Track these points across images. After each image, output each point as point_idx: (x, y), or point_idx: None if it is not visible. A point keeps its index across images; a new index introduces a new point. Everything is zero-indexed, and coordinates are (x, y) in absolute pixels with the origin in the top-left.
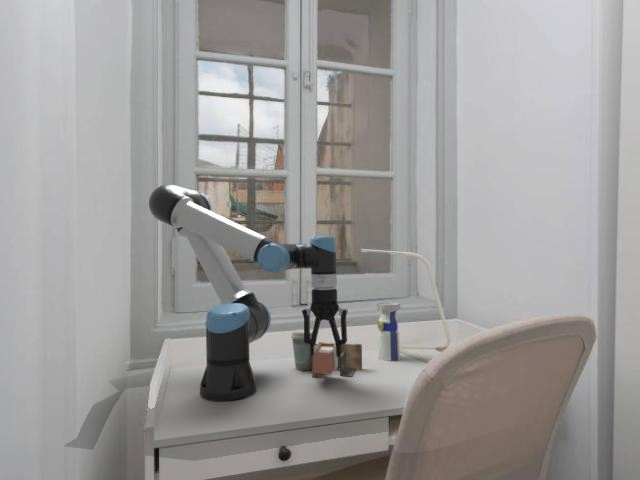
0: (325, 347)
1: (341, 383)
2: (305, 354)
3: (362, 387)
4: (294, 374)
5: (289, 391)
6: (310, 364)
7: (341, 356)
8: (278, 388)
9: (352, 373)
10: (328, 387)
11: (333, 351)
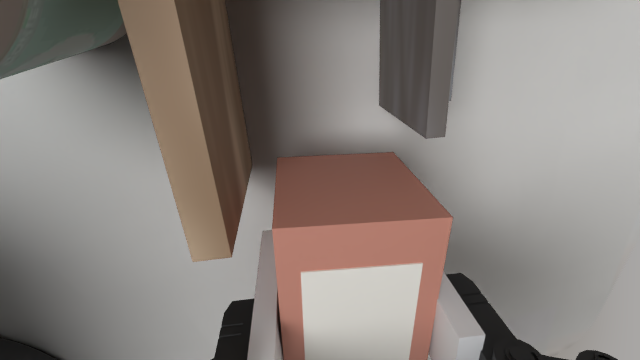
0: (334, 277)
1: None
2: (52, 61)
3: (494, 227)
4: (103, 149)
5: (215, 342)
6: None
7: (438, 136)
8: (153, 332)
9: (452, 64)
10: None
11: (430, 356)
